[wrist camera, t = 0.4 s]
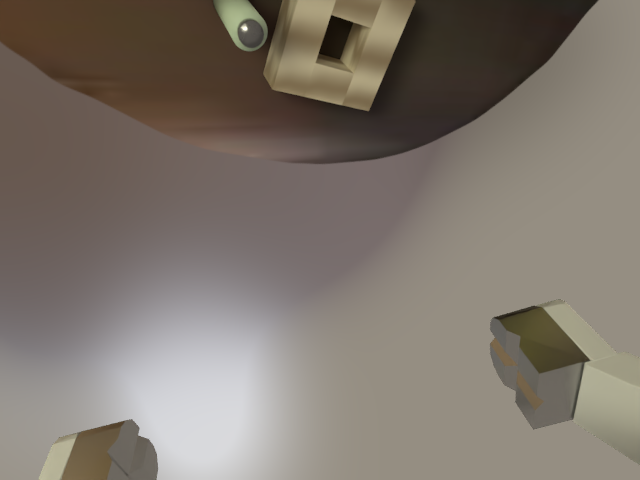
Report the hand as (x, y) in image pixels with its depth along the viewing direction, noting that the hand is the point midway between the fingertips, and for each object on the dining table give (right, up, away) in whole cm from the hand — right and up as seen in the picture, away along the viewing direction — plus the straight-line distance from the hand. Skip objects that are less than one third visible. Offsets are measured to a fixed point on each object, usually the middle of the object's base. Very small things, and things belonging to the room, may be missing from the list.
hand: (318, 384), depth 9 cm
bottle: (-10, +30, +38) cm, 50 cm away
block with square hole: (+1, +30, +44) cm, 53 cm away
